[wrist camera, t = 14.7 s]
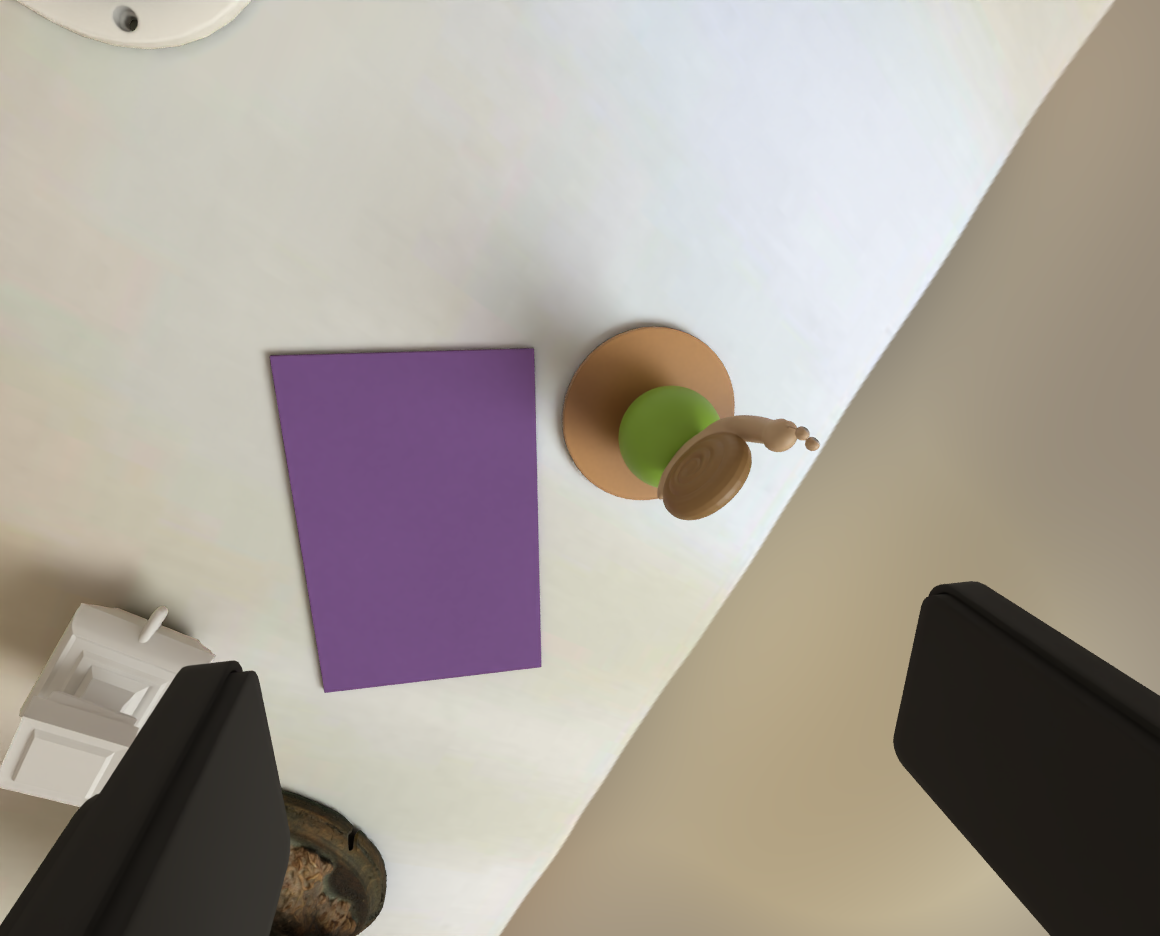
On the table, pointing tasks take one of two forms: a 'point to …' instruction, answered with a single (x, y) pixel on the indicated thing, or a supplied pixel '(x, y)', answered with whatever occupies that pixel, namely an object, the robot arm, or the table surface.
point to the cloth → (415, 510)
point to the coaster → (633, 398)
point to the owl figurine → (327, 875)
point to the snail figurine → (696, 448)
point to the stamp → (93, 701)
